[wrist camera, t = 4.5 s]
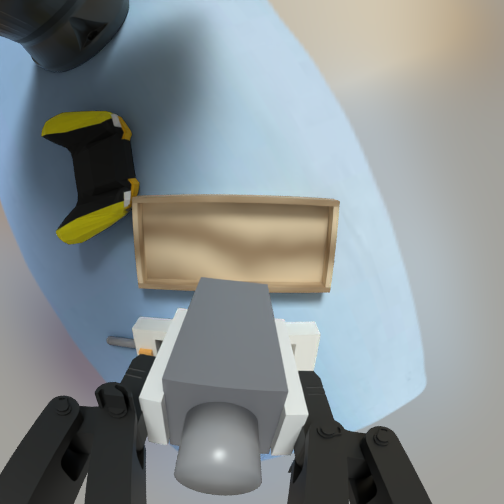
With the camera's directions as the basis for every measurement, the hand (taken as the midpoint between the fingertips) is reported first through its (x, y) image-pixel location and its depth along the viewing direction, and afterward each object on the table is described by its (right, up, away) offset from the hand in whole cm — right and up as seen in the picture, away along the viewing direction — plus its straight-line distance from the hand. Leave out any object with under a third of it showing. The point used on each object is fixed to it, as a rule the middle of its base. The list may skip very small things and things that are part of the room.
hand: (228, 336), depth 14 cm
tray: (-1, +6, +16) cm, 17 cm away
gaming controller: (-16, +14, +13) cm, 25 cm away
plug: (0, +1, +3) cm, 3 cm away
